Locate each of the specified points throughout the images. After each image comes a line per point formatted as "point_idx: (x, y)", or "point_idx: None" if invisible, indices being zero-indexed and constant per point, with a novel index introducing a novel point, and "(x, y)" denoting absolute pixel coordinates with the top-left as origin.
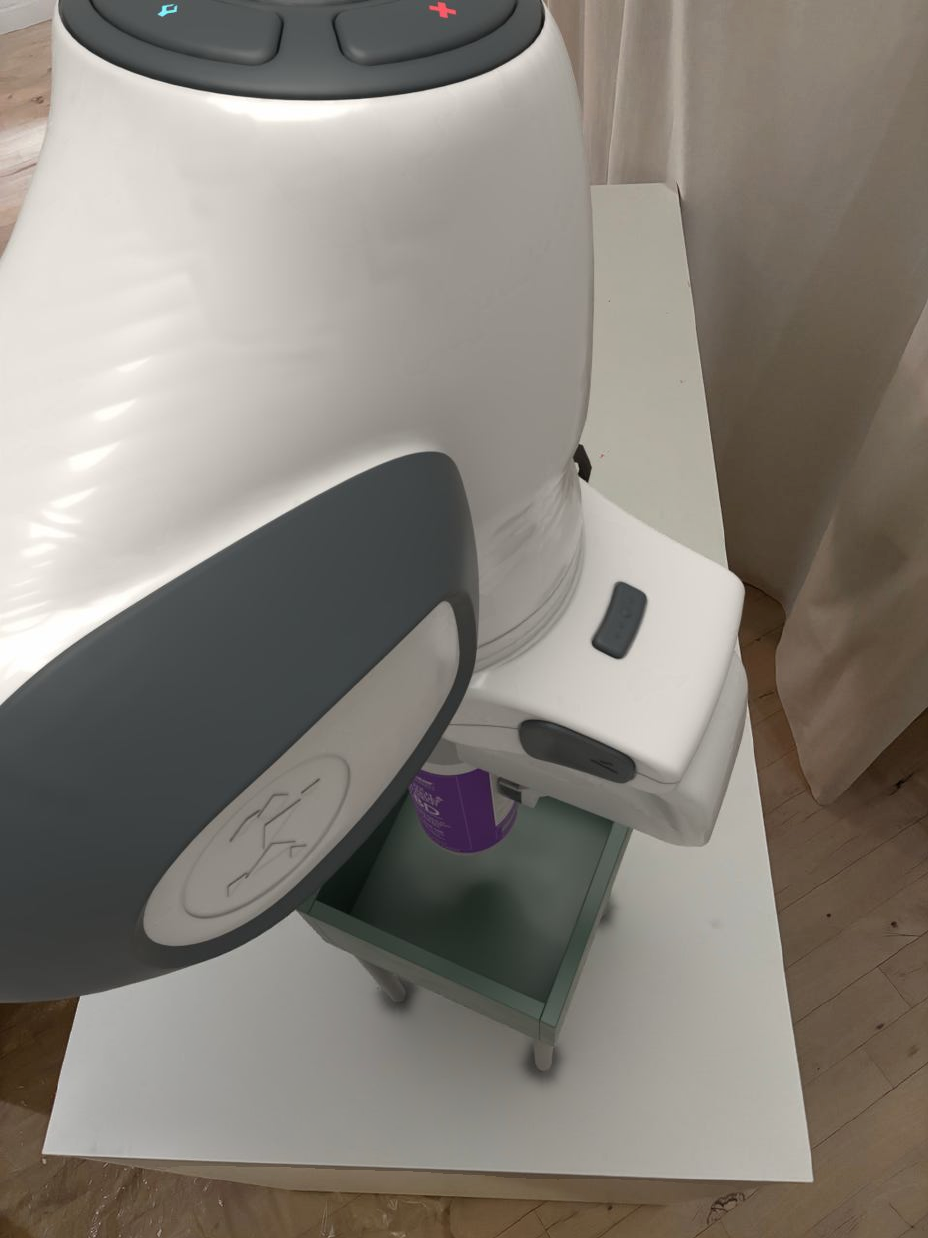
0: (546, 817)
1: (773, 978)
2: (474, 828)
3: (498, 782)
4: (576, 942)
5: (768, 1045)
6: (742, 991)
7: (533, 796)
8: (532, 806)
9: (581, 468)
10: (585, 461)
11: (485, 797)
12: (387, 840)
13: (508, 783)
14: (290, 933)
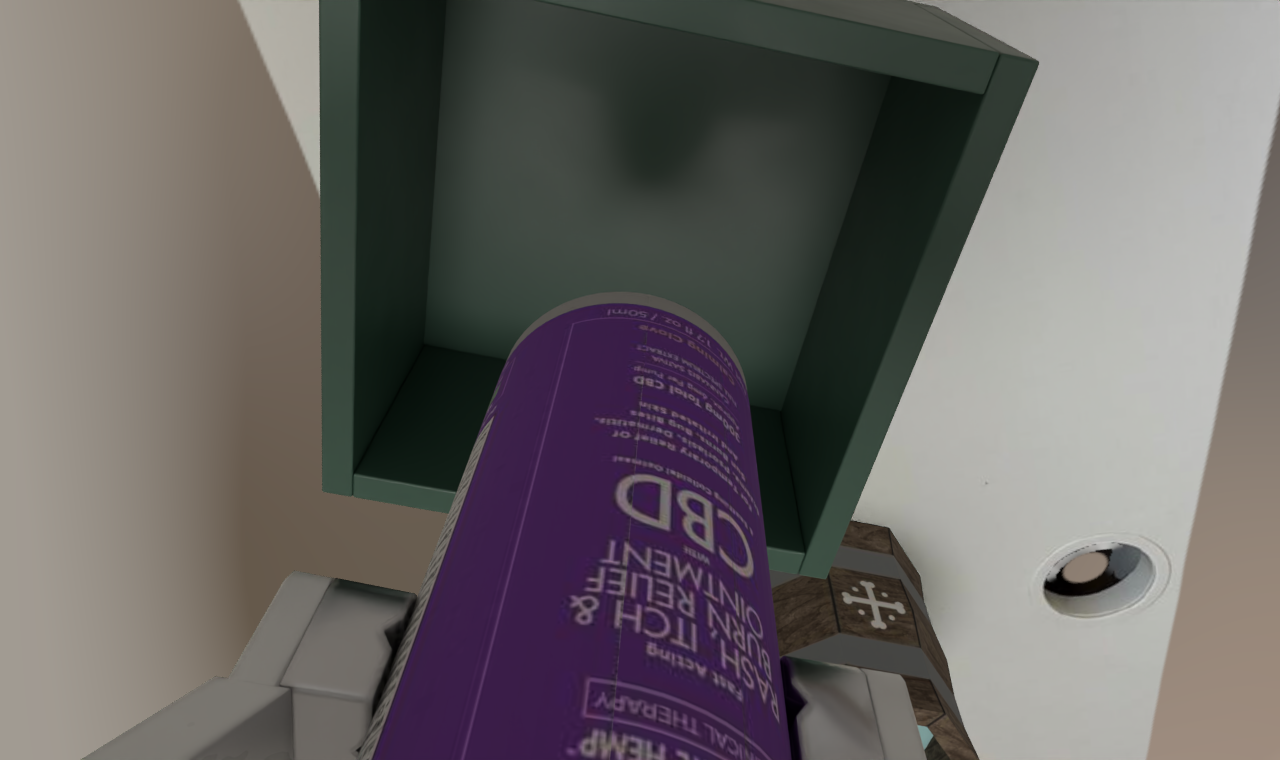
0: None
1: (286, 109)
2: (531, 420)
3: (373, 696)
4: (340, 125)
5: (267, 16)
6: (319, 82)
7: (235, 668)
8: (280, 590)
9: None
10: None
11: (438, 604)
12: (836, 231)
13: (334, 700)
14: (986, 22)
